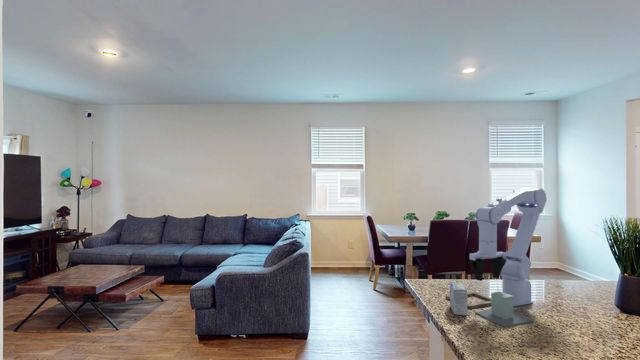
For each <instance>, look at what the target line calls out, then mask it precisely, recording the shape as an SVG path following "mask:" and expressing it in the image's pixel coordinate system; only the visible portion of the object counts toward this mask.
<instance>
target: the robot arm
mask: <svg viewBox="0 0 640 360" xmlns="http://www.w3.org/2000/svg"><path fill="white" fill-rule="evenodd" d="M546 203H547V193H546V192H545V190H544V189H543V188H541V187H540V188H520V187H517V188H516V189H513V190H512V193H511V194H509V195H508V196H507V197H506V198H504V197H503V198H501V197H498V198H496V199H495V201H493V202H489V203H488V205H486V206H480V207H479V208H478V209H476V213H475V215H474V216H475V220H476V223H477V227H478V250H477V252H473V253H469V259H468V261H469V263H470V265H471V266H472V269H473V271H474V276H475V280H477V281H479V282H480V281H481V282H482V281H483V278H484V270H485V266H486V264H487V263H486V262H485V261H482V260H487V259H488V260H489V261H490V264H491V273H492V278H493V279H496V280H500V277H501V278H502V279H501V280H502V292H503V293H506V294H509V295H512V296H513V307H519V306H524V305H529V304H534V301H533V300H532V283H531V282H530V281H531V280H529V276H530V275H531V266H532V261H531V260H530V258H529V257H528V256H527V253H528V250H529V247H530V245H531V241H532V238H533V235H534V232H535V229H536V226H537V224H538V220H539V218H540V216H541V214H542V213H544V212H543V211H544V210H545V206H546ZM514 206H516V208H517V209H518V211H519V212H521V213H522V216H521V220H520V223H519V226H518V227H517V231H516V233H515V236H514V239H513V242H512V245H511V248H510V250H507V251H505V252H504V251H498V224H499V223H500V221H501V220H502V218H503V216H506V215H507V214H508V213H509V212H511V211H512V207H514Z"/></svg>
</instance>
